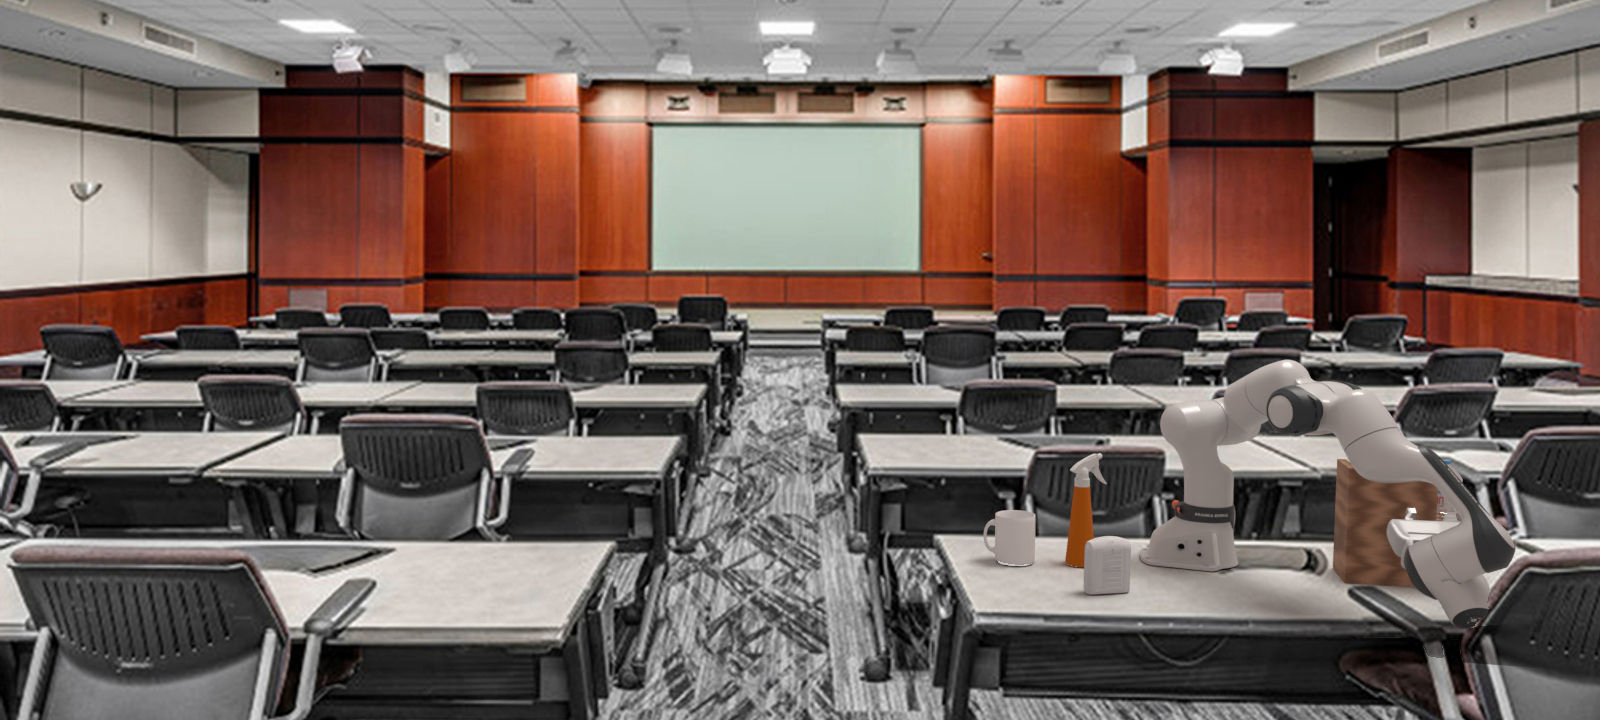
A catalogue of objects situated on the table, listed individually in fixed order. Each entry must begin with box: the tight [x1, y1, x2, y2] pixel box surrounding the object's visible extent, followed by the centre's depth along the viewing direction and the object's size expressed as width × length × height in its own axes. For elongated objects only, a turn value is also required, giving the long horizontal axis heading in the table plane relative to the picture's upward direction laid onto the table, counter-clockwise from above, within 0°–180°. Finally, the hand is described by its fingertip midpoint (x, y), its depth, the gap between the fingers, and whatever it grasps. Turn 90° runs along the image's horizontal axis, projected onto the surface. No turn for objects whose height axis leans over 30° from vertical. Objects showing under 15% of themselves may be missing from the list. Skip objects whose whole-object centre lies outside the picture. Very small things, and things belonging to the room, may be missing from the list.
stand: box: [1332, 458, 1438, 587], centre depth 258 cm, size 18×12×26 cm, turn 77°
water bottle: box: [1436, 458, 1464, 522], centre depth 269 cm, size 7×7×25 cm
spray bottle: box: [1064, 452, 1108, 567], centre depth 271 cm, size 7×11×26 cm, turn 116°
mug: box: [983, 509, 1036, 565], centre depth 273 cm, size 10×12×12 cm
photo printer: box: [1083, 535, 1132, 595], centre depth 248 cm, size 10×4×12 cm, turn 103°
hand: (1435, 511), depth 235 cm, fingers open, 8 cm apart
